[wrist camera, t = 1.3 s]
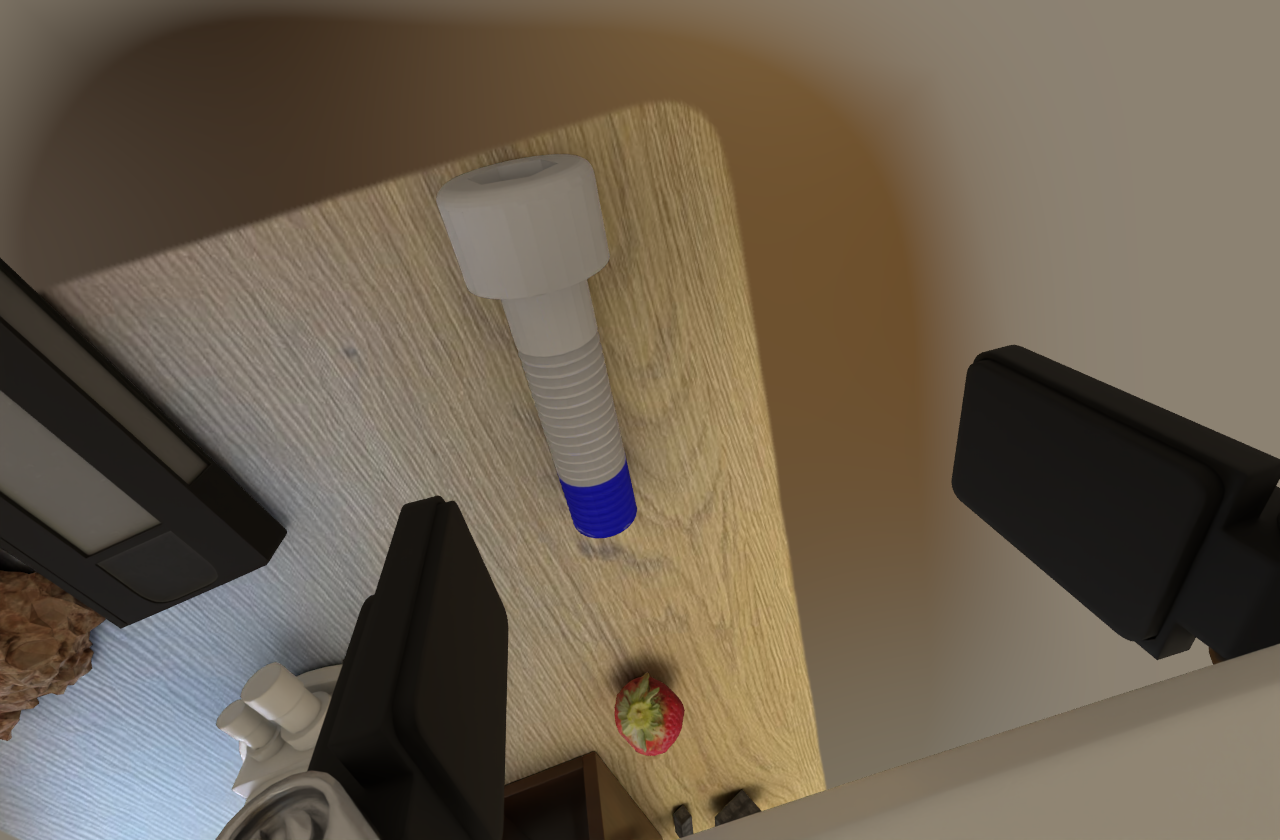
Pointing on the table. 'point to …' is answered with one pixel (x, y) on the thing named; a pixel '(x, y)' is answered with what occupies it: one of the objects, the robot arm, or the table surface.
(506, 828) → the shelf
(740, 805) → the building blocks
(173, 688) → the table surface
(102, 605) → the vhs tape
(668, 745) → the fruit
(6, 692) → the rock
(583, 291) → the bolt
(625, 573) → the table surface
